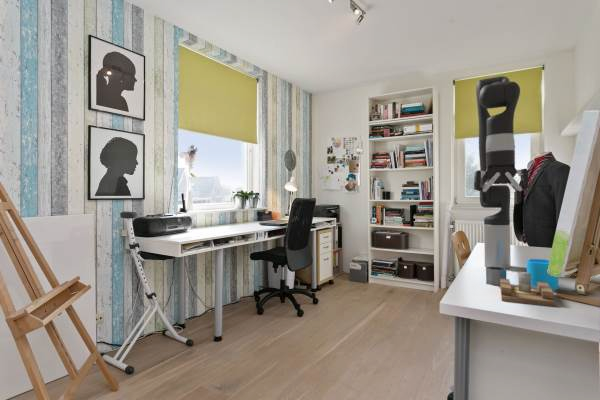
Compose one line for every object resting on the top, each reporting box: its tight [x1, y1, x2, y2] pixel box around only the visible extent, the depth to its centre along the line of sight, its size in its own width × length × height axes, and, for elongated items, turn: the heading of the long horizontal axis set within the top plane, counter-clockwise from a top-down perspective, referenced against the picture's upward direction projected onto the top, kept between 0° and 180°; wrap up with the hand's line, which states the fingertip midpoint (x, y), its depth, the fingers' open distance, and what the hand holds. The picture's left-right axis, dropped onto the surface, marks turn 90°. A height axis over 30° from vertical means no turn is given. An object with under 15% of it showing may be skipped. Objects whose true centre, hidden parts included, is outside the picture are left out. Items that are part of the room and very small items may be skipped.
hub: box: [485, 266, 507, 287], centre depth 115 cm, size 6×6×5 cm
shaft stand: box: [499, 271, 556, 307], centre depth 101 cm, size 16×12×6 cm
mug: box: [526, 258, 560, 291], centre depth 112 cm, size 12×8×8 cm
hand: (500, 204), depth 105 cm, fingers open, 8 cm apart
